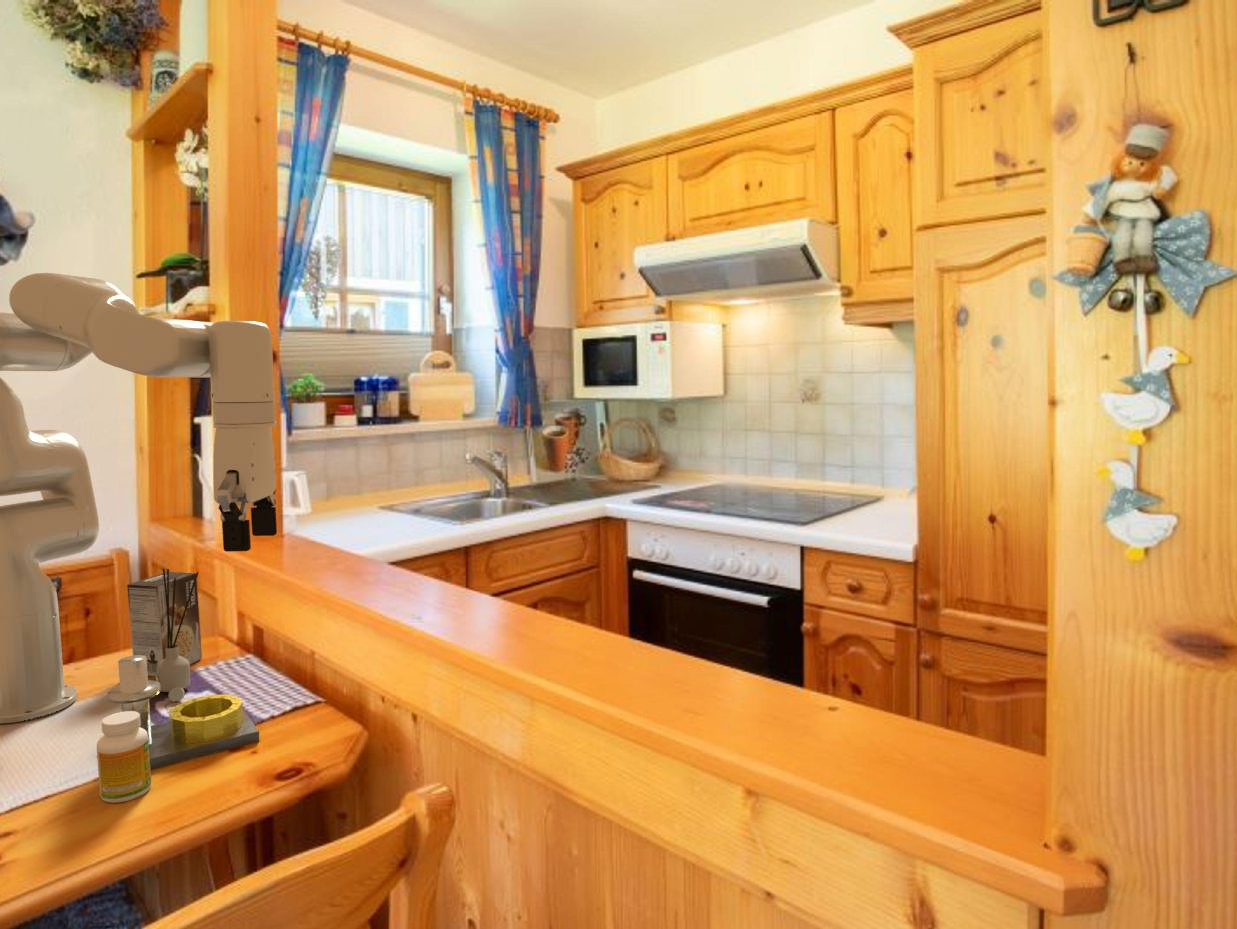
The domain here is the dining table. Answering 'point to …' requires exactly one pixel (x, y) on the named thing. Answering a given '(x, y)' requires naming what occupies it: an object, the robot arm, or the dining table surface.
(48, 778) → the dining table surface
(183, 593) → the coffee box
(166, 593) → the reed diffuser
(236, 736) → the grey peg stand
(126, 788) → the supplement bottle
